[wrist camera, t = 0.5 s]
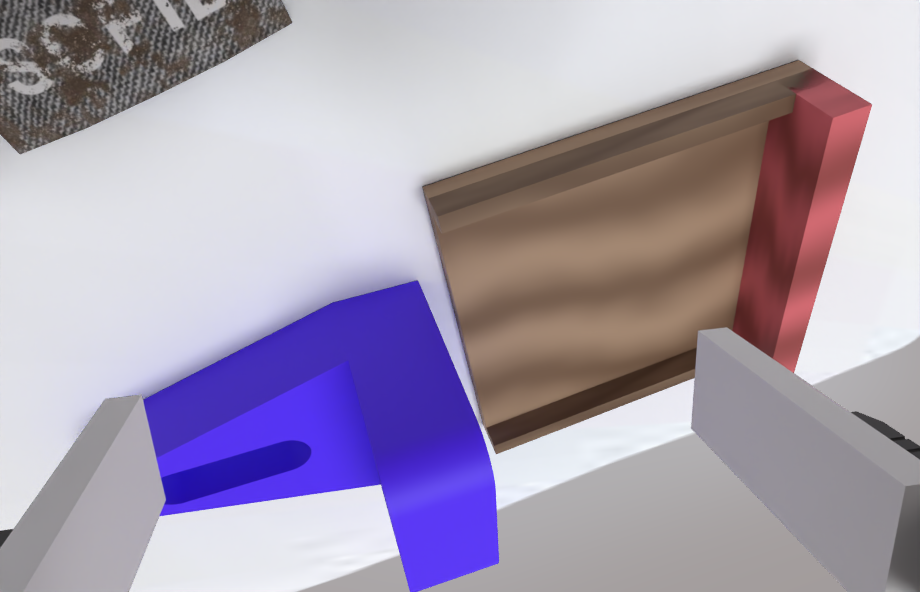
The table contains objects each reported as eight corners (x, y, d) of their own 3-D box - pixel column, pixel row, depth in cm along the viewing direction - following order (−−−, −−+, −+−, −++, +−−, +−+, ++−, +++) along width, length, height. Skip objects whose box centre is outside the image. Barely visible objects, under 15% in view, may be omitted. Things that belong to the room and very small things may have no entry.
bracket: (417, 278, 36) (494, 460, 28) (435, 405, 43) (499, 578, 35) (55, 373, 33) (19, 611, 24) (142, 492, 40) (137, 706, 32)
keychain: (307, 50, 27) (315, 70, 25) (-132, 261, 27) (-148, 294, 25) (190, -174, 21) (193, -163, 20) (-364, 94, 21) (-401, 124, 20)
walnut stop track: (422, 186, 32) (454, 250, 28) (798, 60, 34) (872, 104, 31) (483, 424, 46) (509, 486, 42) (746, 324, 48) (793, 375, 45)
